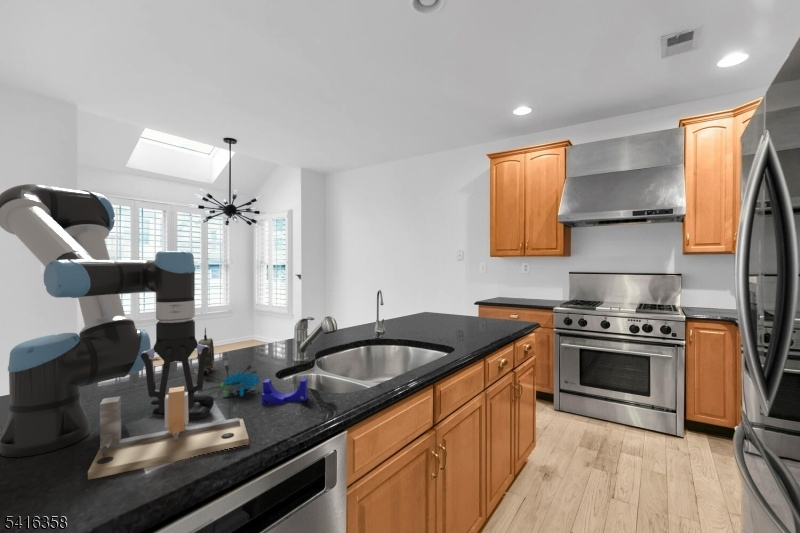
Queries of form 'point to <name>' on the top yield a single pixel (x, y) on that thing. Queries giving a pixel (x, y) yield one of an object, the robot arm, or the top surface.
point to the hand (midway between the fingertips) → (177, 423)
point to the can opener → (197, 409)
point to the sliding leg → (176, 411)
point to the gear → (240, 382)
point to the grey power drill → (210, 355)
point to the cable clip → (276, 397)
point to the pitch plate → (157, 442)
